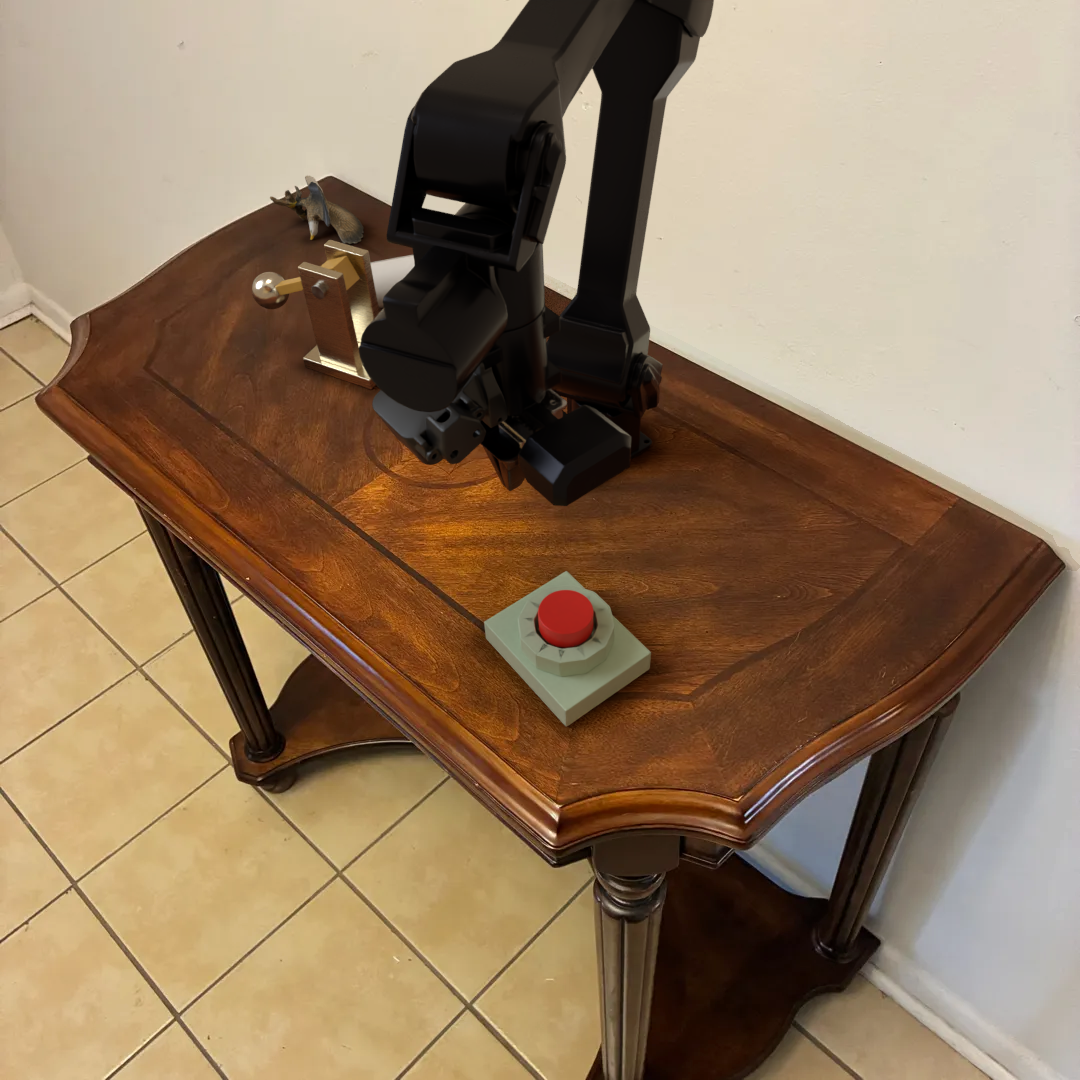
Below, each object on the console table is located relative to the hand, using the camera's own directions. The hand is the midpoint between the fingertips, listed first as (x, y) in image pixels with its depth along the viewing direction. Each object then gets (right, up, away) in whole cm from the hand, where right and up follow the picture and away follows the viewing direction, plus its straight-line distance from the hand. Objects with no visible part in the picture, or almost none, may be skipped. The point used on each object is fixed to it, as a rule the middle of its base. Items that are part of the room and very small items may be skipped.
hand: (512, 485), depth 71 cm
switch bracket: (-17, +14, +29) cm, 36 cm away
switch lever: (-20, +19, +25) cm, 38 cm away
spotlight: (-9, +21, +35) cm, 42 cm away
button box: (+4, -12, +5) cm, 14 cm away
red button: (+4, -10, +2) cm, 11 cm away
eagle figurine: (-23, +32, +45) cm, 60 cm away
